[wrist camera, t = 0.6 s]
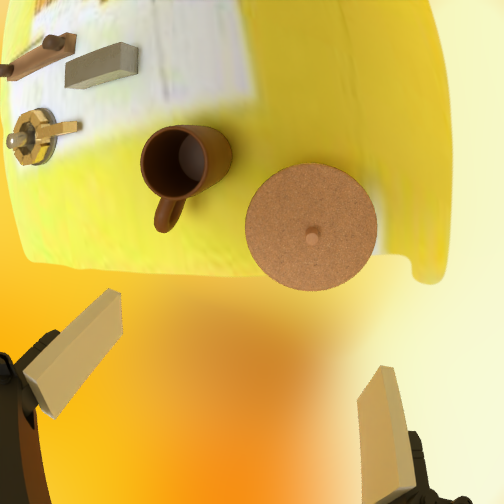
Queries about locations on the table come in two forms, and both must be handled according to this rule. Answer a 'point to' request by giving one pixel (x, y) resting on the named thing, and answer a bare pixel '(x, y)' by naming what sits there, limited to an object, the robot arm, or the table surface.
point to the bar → (102, 66)
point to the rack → (40, 56)
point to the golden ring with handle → (39, 135)
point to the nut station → (33, 138)
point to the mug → (182, 167)
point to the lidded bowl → (311, 227)
